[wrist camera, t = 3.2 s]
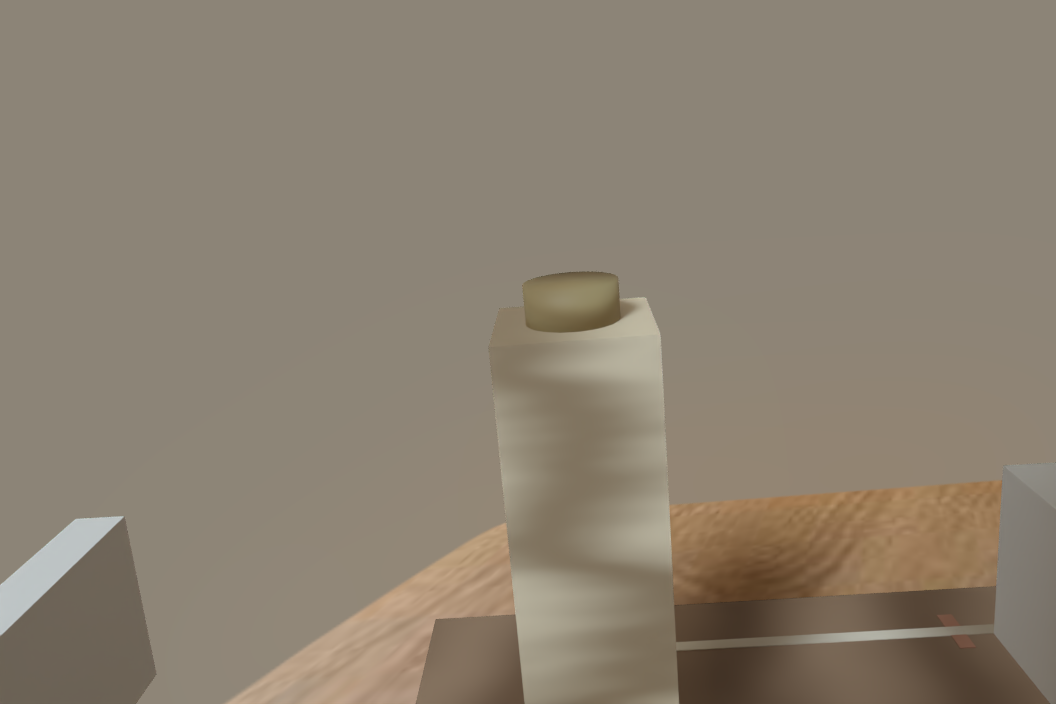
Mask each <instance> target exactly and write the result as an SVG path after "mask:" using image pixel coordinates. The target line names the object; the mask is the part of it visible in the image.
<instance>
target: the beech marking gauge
mask: <svg viewBox="0 0 1056 704" xmlns="http://www.w3.org/2000/svg"><path fill="white" fill-rule="evenodd" d="M522 287H523V299H524V307H511V308H499V311H498V315H497V319H496V322H495V326H494V329H493V333H492V337H491V341H490V344H489V355H490V365H491V375H492V385H493V395H494V405H495V415H496V425H497V435H498V445H499V454H500V464H501V474H502V484H503V494H504V504H505V514H506V524H507V534H508V544H509V554H510V564H511V574H512V584H513V593H514V603H515V613H516V623H517V633H518V643H519V653H520V663H521V673H522V683H523V693H524V703H525V704H679V692H678V672H677V652H676V632H675V613H674V593H673V573H672V553H671V533H670V513H669V495H668V476H667V475H668V474H667V455H666V434H665V416H664V415H665V414H664V395H663V376H662V356H661V336H660V332H659V330H658V327H657V324H656V322H655V319H654V317H653V315H652V312H651V309H650V307H649V305H648V302H647V300H646V297H641V298H628V299H619V284H618V277H617V276H616V275H613V274H610V273H603V272H568V273H559V274H552V275H546V276H541V277H537V278H534V279H531V280H528V281H526V282H525V283H523V285H522Z"/></svg>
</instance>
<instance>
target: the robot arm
mask: <svg viewBox="0 0 1056 704" xmlns="http://www.w3.org/2000/svg"><path fill="white" fill-rule="evenodd" d="M994 634H995V636H996V637H997V638H998V639H999V641H1000V642H1001V643H1002V644H1003V646H1004V647H1005V648H1006V649H1007V651H1008V652H1009V653H1010V654H1011V655H1012V657H1013V658H1014V659H1015V660H1016V662H1017V663H1018V664H1019V665H1020V667H1021V668H1022V669H1023V670H1024V672H1025V673H1026V674H1027V675H1028V677H1029V678H1030V679H1031V680H1032V682H1033V683H1034V684H1035V685H1036V686H1037V688H1038V689H1039V690H1040V691H1041V693H1042V694H1043V695H1044V696H1045V698H1046V699H1047V700H1048V701H1049V703H1050V704H1056V462H1055V463H1037V464H1020V465H1004V466H1003V478H1002V495H1001V513H1000V531H999V548H998V566H997V584H996V601H995V619H994ZM155 675H156V670H155V665H154V660H153V655H152V650H151V645H150V640H149V635H148V630H147V625H146V620H145V615H144V610H143V605H142V600H141V595H140V591H139V586H138V581H137V576H136V571H135V566H134V561H133V556H132V551H131V546H130V541H129V536H128V531H127V526H126V521H125V517H124V516H121V517H102V518H85V519H75V520H74V521H73V522H72V523H71V524H70V525H69V526H67V527H66V528H65V529H64V530H63V531H61V532H60V533H59V534H58V535H57V536H56V537H55V538H54V539H52V540H51V541H50V542H49V543H48V544H47V545H45V546H44V547H43V548H42V549H41V550H40V551H39V552H37V553H36V554H35V555H34V556H33V557H32V558H31V559H29V560H28V561H27V562H26V563H25V564H24V565H23V566H21V567H20V568H19V569H18V570H17V571H16V572H15V573H14V574H12V575H11V576H10V577H9V578H8V579H7V580H5V581H4V582H3V583H2V584H1V585H0V704H136V703H137V702H138V700H139V699H140V697H141V696H142V694H143V693H144V692H145V690H146V689H147V687H148V686H149V684H150V683H151V681H152V680H153V679H154V677H155Z"/></svg>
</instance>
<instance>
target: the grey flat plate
mask: <svg viewBox="0 0 1056 704" xmlns="http://www.w3.org/2000/svg"><path fill="white" fill-rule="evenodd" d="M995 601H996V586H993V587H976V588H959V589H942V590H925V591H908V592H891V593H874V594H857V595H840V596H823V597H806V598H789V599H772V600H755V601H738V602H721V603H704V604H687V605H674V613H675V632H676V652H677V672H678V692H679V704H1050V703H1049V701H1048V700H1047V699H1046V698H1045V696H1044V695H1043V694H1042V693H1041V691H1040V690H1039V689H1038V688H1037V686H1036V685H1035V684H1034V683H1033V682H1032V680H1031V679H1030V678H1029V677H1028V675H1027V674H1026V673H1025V672H1024V670H1023V669H1022V668H1021V667H1020V665H1019V664H1018V663H1017V662H1016V660H1015V659H1014V658H1013V657H1012V655H1011V654H1010V653H1009V652H1008V651H1007V649H1006V648H1005V647H1004V646H1003V644H1002V643H1001V642H1000V641H999V639H998V638H997V637H996V636H995V634H994V619H995ZM416 704H525V703H524V693H523V683H522V673H521V663H520V653H519V643H518V633H517V623H516V615H501V616H484V617H467V618H450V619H436V620H435V624H434V629H433V633H432V637H431V641H430V646H429V650H428V654H427V658H426V663H425V667H424V671H423V675H422V680H421V684H420V688H419V692H418V696H417V701H416Z"/></svg>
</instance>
